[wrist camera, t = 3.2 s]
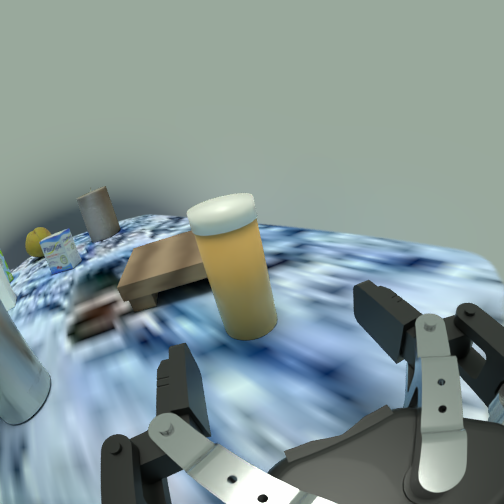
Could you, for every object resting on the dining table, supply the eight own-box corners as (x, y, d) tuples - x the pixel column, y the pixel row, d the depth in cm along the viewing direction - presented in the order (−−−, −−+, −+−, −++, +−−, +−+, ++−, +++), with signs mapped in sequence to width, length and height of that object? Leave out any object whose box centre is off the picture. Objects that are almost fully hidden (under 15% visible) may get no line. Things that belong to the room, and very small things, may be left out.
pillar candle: (115, 227, 78) (100, 183, 72) (124, 230, 71) (107, 180, 65) (89, 240, 72) (73, 195, 66) (95, 244, 65) (76, 193, 59)
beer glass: (229, 347, 22) (186, 221, 18) (220, 314, 27) (186, 206, 22) (286, 329, 23) (261, 201, 18) (269, 299, 28) (245, 189, 23)
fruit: (63, 245, 77) (53, 219, 73) (44, 260, 67) (33, 231, 62) (44, 251, 78) (35, 227, 74) (26, 266, 67) (15, 239, 63)
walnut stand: (130, 315, 30) (117, 287, 28) (142, 270, 42) (133, 248, 40) (264, 276, 32) (257, 245, 31) (242, 240, 44) (236, 217, 43)
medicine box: (52, 275, 52) (38, 242, 48) (61, 266, 56) (48, 235, 52) (73, 269, 51) (59, 234, 48) (82, 260, 55) (69, 227, 52)
